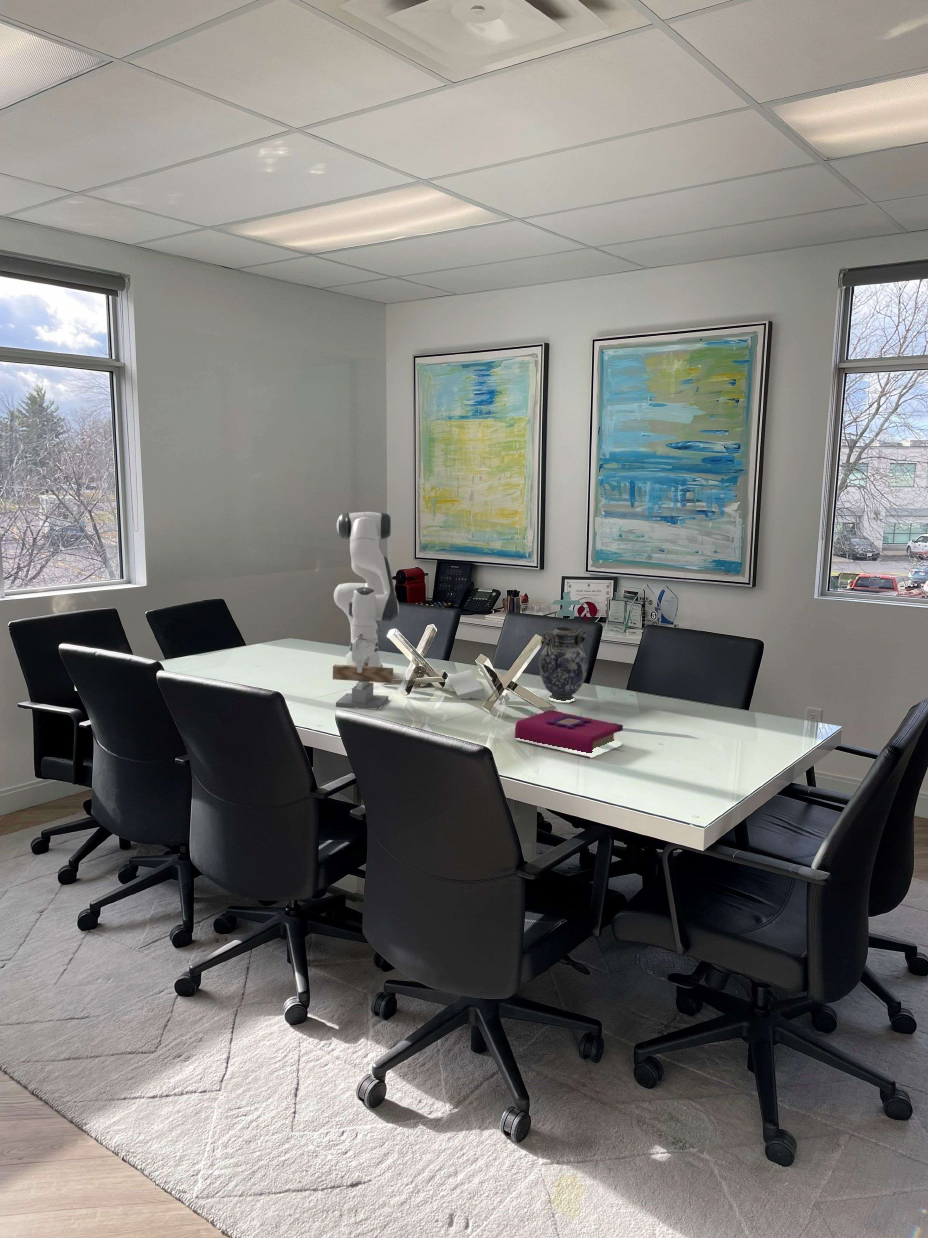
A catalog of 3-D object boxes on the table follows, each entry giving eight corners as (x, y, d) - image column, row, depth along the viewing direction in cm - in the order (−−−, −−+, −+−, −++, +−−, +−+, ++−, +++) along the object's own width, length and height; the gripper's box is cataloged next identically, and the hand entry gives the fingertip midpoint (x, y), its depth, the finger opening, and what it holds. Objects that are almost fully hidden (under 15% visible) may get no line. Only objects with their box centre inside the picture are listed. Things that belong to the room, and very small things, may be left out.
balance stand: (347, 697, 338) (347, 675, 337) (388, 699, 336) (388, 677, 335) (335, 706, 324) (336, 683, 322) (379, 709, 321) (379, 686, 320)
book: (590, 760, 270) (591, 736, 269) (514, 742, 287) (515, 719, 286) (623, 746, 286) (624, 723, 285) (549, 730, 303) (550, 708, 302)
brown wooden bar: (393, 681, 329) (393, 668, 328) (391, 683, 326) (391, 669, 325) (334, 677, 332) (335, 664, 331) (332, 679, 329) (332, 666, 328)
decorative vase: (567, 692, 359) (571, 623, 354) (598, 702, 343) (602, 630, 339) (524, 697, 347) (528, 626, 342) (554, 709, 332) (558, 634, 327)
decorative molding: (460, 706, 342) (486, 699, 343) (457, 695, 341) (483, 688, 342) (449, 687, 375) (472, 680, 376) (446, 676, 374) (469, 669, 375)
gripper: (365, 637, 315) (364, 676, 318) (378, 628, 335) (378, 664, 338) (347, 636, 316) (347, 675, 318) (362, 627, 336) (361, 663, 338)
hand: (363, 669), depth 328 cm, fingers open, 8 cm apart
